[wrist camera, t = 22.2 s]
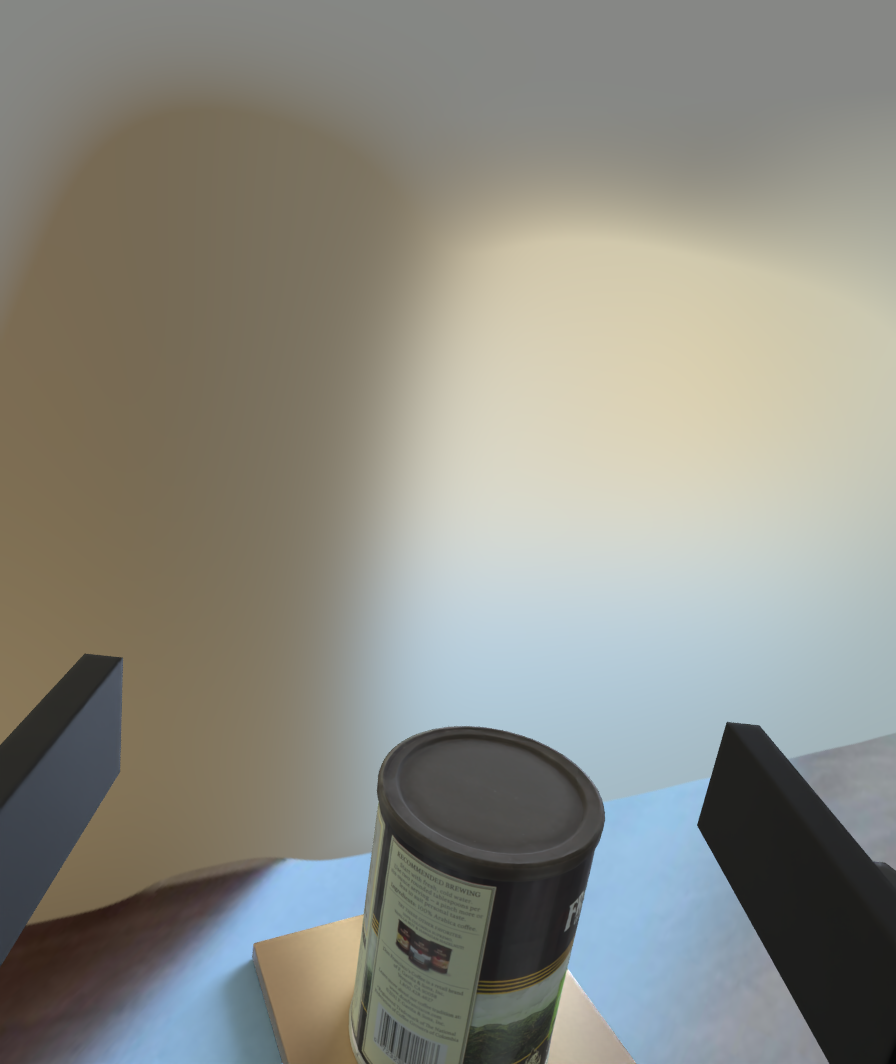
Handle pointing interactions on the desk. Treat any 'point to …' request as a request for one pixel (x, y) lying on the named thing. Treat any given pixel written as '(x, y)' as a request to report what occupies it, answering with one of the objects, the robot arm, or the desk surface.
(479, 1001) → the coffee can
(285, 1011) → the cork mat
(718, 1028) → the desk surface
